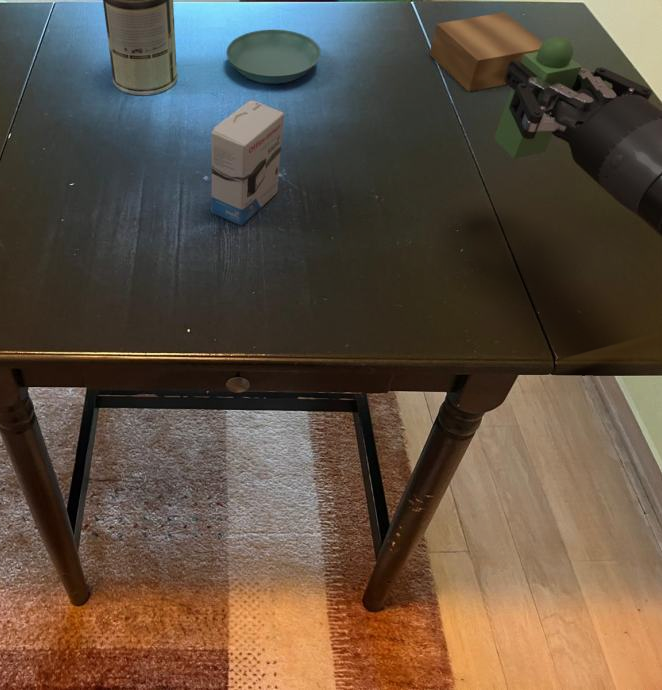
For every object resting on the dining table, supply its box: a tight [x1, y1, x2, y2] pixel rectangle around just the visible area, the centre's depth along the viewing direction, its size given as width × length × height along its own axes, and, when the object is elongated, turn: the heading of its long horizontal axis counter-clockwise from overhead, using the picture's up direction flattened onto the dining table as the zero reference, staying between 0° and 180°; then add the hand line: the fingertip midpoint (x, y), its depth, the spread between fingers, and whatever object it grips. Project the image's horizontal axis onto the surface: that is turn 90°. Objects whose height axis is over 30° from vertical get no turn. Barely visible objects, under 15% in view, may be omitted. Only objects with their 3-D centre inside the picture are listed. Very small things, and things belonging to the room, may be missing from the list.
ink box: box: [211, 99, 285, 227], centre depth 83 cm, size 8×5×12 cm, turn 143°
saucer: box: [226, 29, 322, 85], centre depth 108 cm, size 15×15×3 cm
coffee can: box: [102, 0, 178, 96], centre depth 102 cm, size 10×10×14 cm
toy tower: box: [493, 36, 583, 159], centre depth 72 cm, size 4×4×12 cm
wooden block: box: [428, 12, 544, 93], centre depth 106 cm, size 12×12×5 cm
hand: (529, 65), depth 72 cm, fingers closed on toy tower, 4 cm apart
